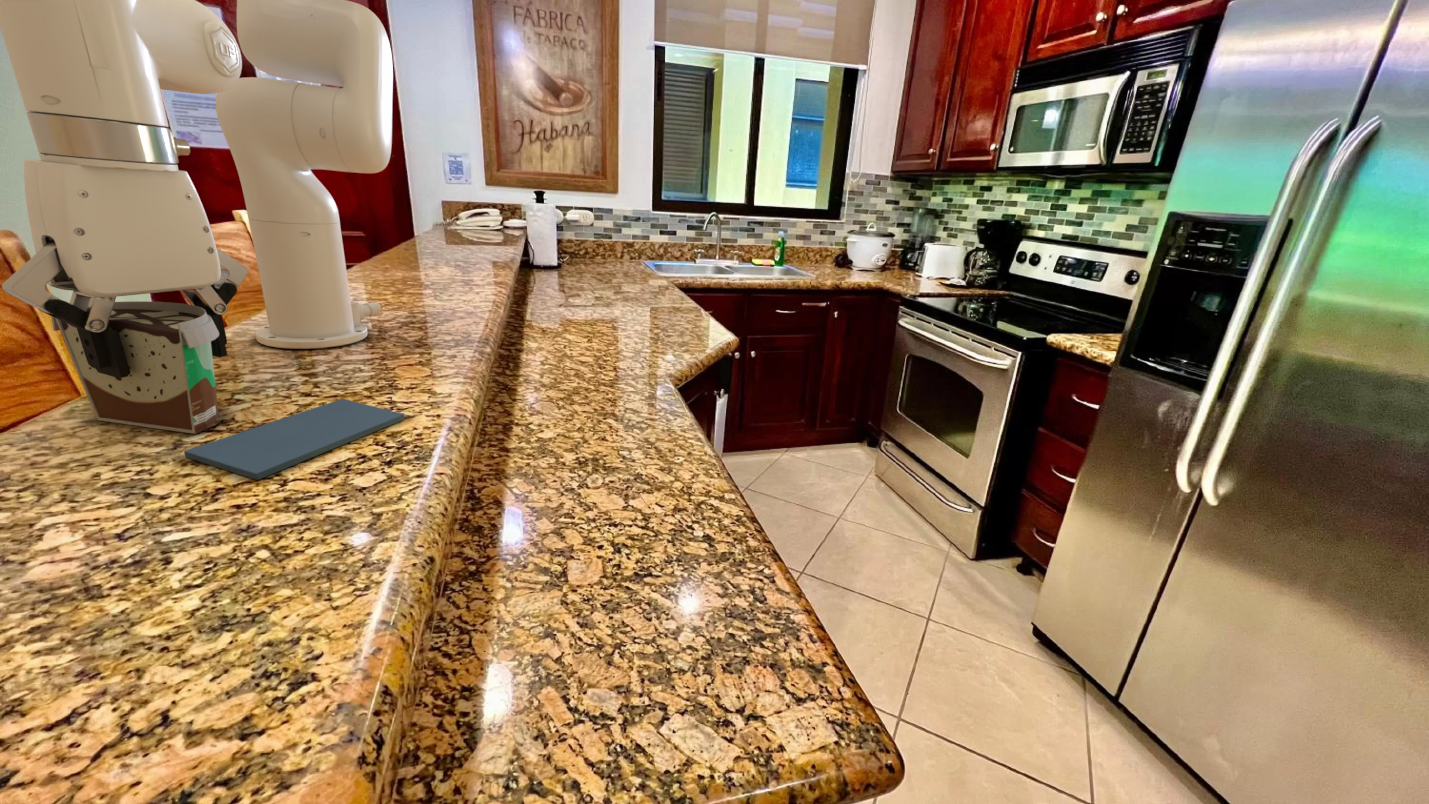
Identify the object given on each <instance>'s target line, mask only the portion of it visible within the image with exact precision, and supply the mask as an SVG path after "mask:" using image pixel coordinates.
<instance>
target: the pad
mask: <svg viewBox="0 0 1429 804" xmlns="http://www.w3.org/2000/svg"><path fill="white" fill-rule="evenodd" d="M405 417H406V416H405V414H404V413H401V412H397V411H393V410H389V409H385V408H381V407H377V406H373V405H369V404H365V403H361V402H358V401H354V400H349V399H346V398H340V399H338V400H333V401H332V402H328V403H326V404H325V403H324V404H322V405H319V406H317V407H313V408H311V409H307V410H304V411H301V412H297V413H295V414H292V415H289V416H286V417H283V418H280V419H277V420H274V421H271V422H268V423H265V424H262V425H258V426H256V427H253V428H250V429H247V430H243V431H240V432H238V433H235V434H232V435H228V436H225V437H223V438H219V439H216V440H214V441H210V442H207V443H205V444H201V445H198V446H196V447H192V448H190V449H186V450H184V451H183V452H184V456H185V458H187V459H189V460H192V461H196V462H198V463H202V464H206V465H209V466H212V467H215V468H218V469H221V470H224V471H228V472H231V473H234V474H237V475H240V476H243V477H247V478H249V479H252V480H255V481H259V480H261V479H263V478H266V477H269V476H271V475H273V474H276V473H279V472H280V471H281V472H282V471H284V470H285V469H288V468H290V467H293V466H295V465H298V464H301V463H302V462H305V461H307V460H309V459H312V458H315V457H317V456H320V455H322V454H324V453H326V452H330V451H332V450H335V449H336V448H339V447H341V446H344V445H346V444H349V443H351V442H354V441H355V440H356V441H357V440H358V439H361V438H363V437H366V436H368V435H370V434H373V433H375V432H377V431H381V430H382V429H386V428H387V427H390V426H392V425H394V424H397V423H399V422H402V421H404V420H406V419H405Z"/></svg>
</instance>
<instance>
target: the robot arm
mask: <svg viewBox="0 0 1429 804" xmlns="http://www.w3.org/2000/svg"><path fill="white" fill-rule="evenodd" d="M385 28H386V27H384V24H383V23H382V21H381V19H380V18H379V17H378V16H377V15H376V13H374V12H373V11H372V10H371V9H369V8H368V7H366V6H365V5H362V4H361V3H358V2H354V1H352V0H236V33H237V40H238V41H237V40H236V38H235V36H234V34H233V32H232V31H231V29H230V28H229V27H228V26H227V24H225V22H224V20H222V19H221V17H219V16H218V15H217V14H216V13H214V11H212V10H211V8H209V7H207V6H205V5H204V4H202V3H201V2H199V1H198V0H0V31H1V34H2V37H3V41H4V45H5V47H6V50H7V54H8V58H9V60H10V64H11V67H12V70H13V74H14V77H15V80H16V83H17V86H18V89H19V93H20V96H21V99H22V102H23V105H24V109H25V111H26V115H27V119H28V122H29V126H30V129H31V132H32V135H33V140H34V143H35V146H36V148H37V151H38V155H39V158H40V159H24V160H23V163H24V164H23V176H24V177H23V178H24V180H23V181H24V192H25V193H24V194H25V201H26V202H25V203H26V211H27V216H28V222H29V227H30V233H31V238H32V242H33V247H34V251H35V254H34V255H33V256H32V257H31V258H30V259H28V261H26V262H25V263H24V264H22V266H21V267H19V268H18V269H17V270H16V271H15V272H14V273H13V274H11V275H10V276H9V277H8V278H6V280H5V281H4V282H3V283H2V284H1V288H2V291H4V292H5V293H7V294H9V295H10V296H13V297H14V298H16V299H18V300H20V301H22V302H24V303H25V304H28V305H30V306H31V307H33V308H36V309H37V310H39V311H40V312H42V313H45V314H46V315H48V316H50V317H51V316H52V317H54V318H56V319H59V320H61V321H63V322H65V323H67V324H68V325H69V326H72V327H75V328H77V331H78V334H79V337H80V340H81V344H82V347H83V350H84V353H85V356H86V359H87V362H88V364H89V365H90V366H91V367H92V368H95V369H96V370H97V371H98V372H99V373H102V374H105V375H109V376H113V377H116V378H123V377H128V375H130V369H129V366H128V362H127V359H126V356H125V352H124V349H123V345H122V342H121V338H120V335H119V333H118V332H117V331H115V330H111V329H109V326H108V322H109V319H110V315H111V312H112V309H113V306H114V303H115V302H116V299H117V297H126V296H136V295H146V294H155V293H156V294H157V293H166V292H174V291H175V292H176V291H179V292H180V293H181V294H182V295H183V297H184V298H185V299H186V300H187V302H189V305H194V306H198V307H201V308H203V309H205V311H206V313H207V315H209V316H210V317H211V318H212V320H213V322H214V324H215V326H216V328H217V330H218V332H219V336H218V337H217V338H216V339H215V340H213V341H211V348H212V357H216V358H223V357H227V356H228V350H227V347H226V345H227V344H228V338H227V334H226V330H225V325H224V320H223V315H224V314H226V313H227V312H228V305H229V304H230V302H231V301H232V300H233V298H235V296H236V295H237V292H238V287H240V286H241V285H242V283H243V282H244V281H245V279H246V278H247V276H248V274H249V269H248V267H247V266H245V265H244V264H242V263H241V262H239V261H238V260H236V259H235V258H234V257H232V256H231V255H229V254H227V253H226V252H224V251H223V250H221V249H220V248H219V247H217V245H216V240H215V238H214V237H215V236H214V234H213V231H212V228H211V224H210V221H209V219H208V216H207V213H206V210H205V208H204V205H203V203H202V201H201V198H200V196H199V193H198V191H197V189H196V187H195V185H194V182H193V181H192V179H191V177H190V175H189V173H188V171H186V170H180V169H179V166H178V164H179V163H180V161H179V157H180V156H190V154H191V146H190V144H189V142H188V141H187V140H186V139H184V138H177V137H176V136H174V134H173V130H172V129H170V128H169V126H170V125H169V122H168V116H167V113H166V108H165V104H164V99H163V95H162V90H163V91H170V92H171V91H173V92H178V93H180V92H181V93H188V94H198V95H212V94H215V105H214V106H215V112H216V115H217V120H218V123H219V126H220V129H221V131H222V134H223V136H224V139H225V141H226V143H227V146H228V148H229V150H230V154H231V156H232V159H233V161H234V165H235V167H236V170H237V175H238V177H239V181H240V185H241V189H242V194H243V199H244V204H245V208H246V214H247V218H248V223H249V229H250V234H251V239H252V244H253V249H254V255H255V260H256V265H257V270H258V271H257V272H258V276H259V281H260V286H261V292H262V295H263V302H264V306H265V307H264V308H265V312H266V317H267V323H268V324H267V325H264V326H262V327H259V328H257V330H255V339H256V341H257V342H258V343H259V344H261V345H263V346H267V347H273V348H278V349H291V350H293V349H294V350H305V349H306V350H309V349H310V350H311V349H324V348H325V349H326V348H333V347H340V346H346V345H351V344H354V343H357V342H360V341H362V340H364V339H366V337H367V336H368V333H369V332H368V327H367V326H366V325H365V324H363V323H362V322H361V321H362V320H364V318H365V317H373V316H378V315H380V314H381V313H382V312H383V310H382V309H383V308H382V306H381V304H380V303H379V302H376V301H371V302H366V303H363V304H359V303H358V301H351V300H352V299H351V293H350V286H349V285H350V284H349V279H348V271H347V264H346V256H345V250H344V243H343V242H344V241H343V236H342V229H341V220H340V214H339V208H338V205H337V204H336V201H335V200H334V197H333V196H332V194H331V193H330V192H329V190H328V189H327V188H326V186H324V184H323V183H322V182H321V181H320V180H319V179H318V178H317V177H316V175H315V174H314V173H313V171H312V170H322V171H323V170H325V171H333V172H334V171H335V172H343V173H357V174H377V173H380V172H383V171H384V170H385V169H386V168H387V167H388V164H389V163H390V159H391V154H392V148H393V147H392V144H393V101H394V100H393V97H394V96H393V95H394V94H393V93H394V90H393V89H394V69H393V68H394V67H393V64H394V63H393V55H392V49H391V44H390V40H389V37H388V33H387V31H386V29H385ZM237 42H238V43H237ZM241 52H242V54H243V55H244V57H245V59H246V60H247V61H248V62H249V63H250V64H251V65H252V66H253V67H255V68H256V69H257V70H259V71H260V72H262V73H265V74H267V75H270V76H273V77H276V78H269V77H258V76H257V77H256V76H255V77H254V76H249V77H241V75H242V69H243V59H242V54H241ZM277 78H281V79H277ZM284 79H286V80H284ZM318 84H319V85H318ZM47 284H48V285H49V286H50V287H52V288H55V289H58V290H64V291H72V294H71V297H70V300H69V302H68V301H65V300H62V299H60V298H59V297H57V296H55V295H54V294H53V293H51V292H49V291H48V290H47V288H46V286H47ZM52 317H51V318H52Z"/></svg>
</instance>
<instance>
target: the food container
mask: <svg viewBox="0 0 1429 804" xmlns="http://www.w3.org/2000/svg"><path fill="white" fill-rule="evenodd" d="M50 317H51V323H52V329H53V331H54V332H57V331H59V332H60V333H61V336H62V338H63V340H64V344H65V345H66V348H67V351H68V353H69V355H70V357H71V360H72V362H73V365H74V367H75V370H76V372H77V375H78V377H79V380H80V382H81V385H82V387H83V389H84V392H85V394H86V396H87V399H88V401H89V404H90V406H91V409H92V412H93V413H94V416H95V418H96V420H97V421H100V422H108V423H114V424H122V425H128V426H129V425H130V426H136V427H143V428H149V429H157V430H158V429H159V430H165V431H173V432H179V433H187V434H195V435H197V434H198V433H201V432H202V431H203V432H204V431H205V430H207V429H209V428H210V427H212V426H213V425H215V424H216V423H217V422H218V420H219V417H220V413H219V404H218V395H217V386H216V376H215V369H214V358H213V357H214V356H212V348H211V341H213V340H215V339H216V338H217V337H218V336H219V332H218V330H217V328H216V326H215V324H214V322H213V320H212V318H211V317H210V316H209V315H207V313H206V311H205V309H203V308H201V307H198V306H194V305H191V304H188V303H180V302H169V301H168V302H167V301H148V300H147V301H142V300H141V301H139V300H138V301H137V300H135V301H134V300H133V301H132V300H131V301H128V300H127V301H115V303H114V306H113V309H112V312H111V315H110V319H109V322H108V326H109V329H111V330H115V331H117V332H118V333H119V335H120V338H121V342H122V345H123V349H124V352H125V356H126V359H127V362H128V366H129V369H130V375H128V377H123V378H116V377H113V376H109V375H105V374H102V373H99V372H98V371H97V370H96V369H95V368H92V367H91V366H90V365H89V364H88V362H87V359H86V356H85V353H84V350H83V347H82V344H81V340H80V337H79V334H78V331H77V328H75V327H72V326H69V325H68V324H67V323H65V322H63V321H61V320H59V319H56V318H54V317H52V316H50Z"/></svg>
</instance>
